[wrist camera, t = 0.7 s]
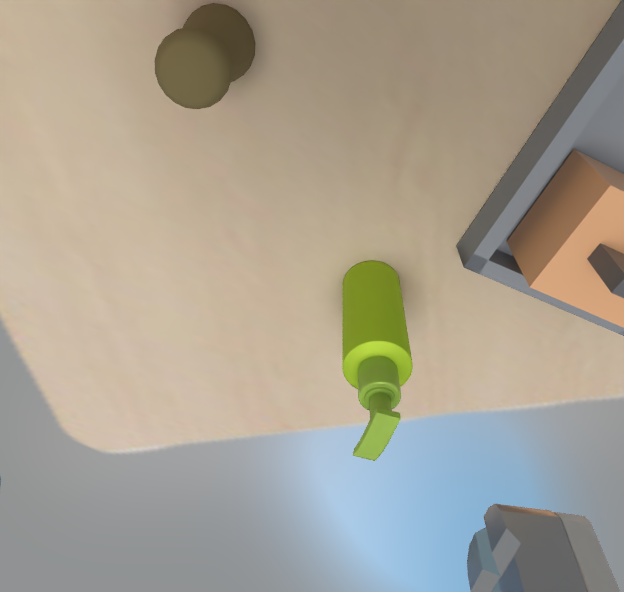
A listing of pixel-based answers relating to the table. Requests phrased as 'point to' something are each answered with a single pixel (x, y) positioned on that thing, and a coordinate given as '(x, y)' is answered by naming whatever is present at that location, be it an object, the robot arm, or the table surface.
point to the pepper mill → (205, 56)
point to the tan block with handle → (577, 238)
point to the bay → (555, 161)
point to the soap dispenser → (375, 349)
